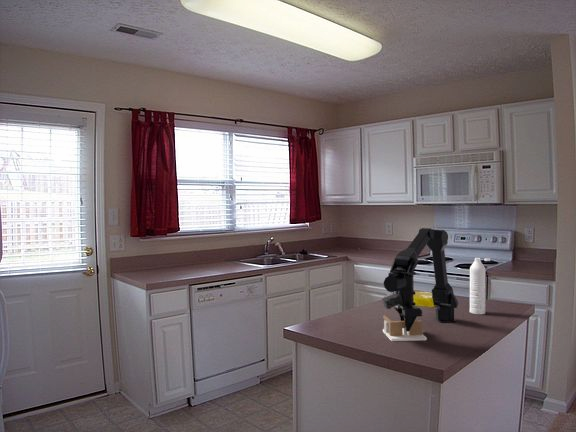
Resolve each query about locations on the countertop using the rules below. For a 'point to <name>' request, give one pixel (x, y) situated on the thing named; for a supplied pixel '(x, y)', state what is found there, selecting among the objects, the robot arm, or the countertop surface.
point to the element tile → (423, 299)
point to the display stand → (404, 337)
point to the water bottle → (477, 287)
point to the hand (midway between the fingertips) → (405, 329)
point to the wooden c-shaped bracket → (396, 326)
